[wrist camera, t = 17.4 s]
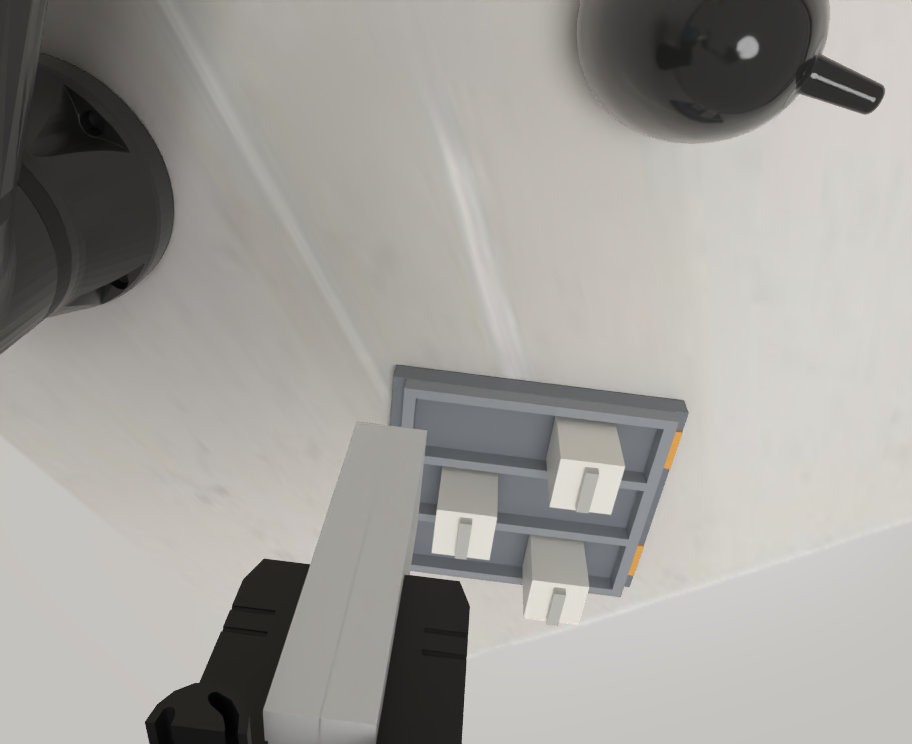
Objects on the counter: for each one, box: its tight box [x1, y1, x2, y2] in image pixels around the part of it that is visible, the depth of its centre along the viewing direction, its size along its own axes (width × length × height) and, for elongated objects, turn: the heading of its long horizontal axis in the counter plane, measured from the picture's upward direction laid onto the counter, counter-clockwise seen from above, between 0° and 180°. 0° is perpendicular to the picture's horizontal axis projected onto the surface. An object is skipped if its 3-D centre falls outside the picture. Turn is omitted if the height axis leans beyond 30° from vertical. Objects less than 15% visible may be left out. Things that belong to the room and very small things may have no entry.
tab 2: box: [546, 416, 625, 515], centre depth 46 cm, size 4×4×6 cm
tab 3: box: [522, 534, 589, 626], centre depth 51 cm, size 4×4×6 cm
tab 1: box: [432, 466, 498, 560], centre depth 49 cm, size 4×4×6 cm
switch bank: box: [390, 365, 688, 597], centre depth 51 cm, size 20×17×3 cm
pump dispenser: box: [577, 0, 885, 144], centre depth 30 cm, size 10×10×15 cm
